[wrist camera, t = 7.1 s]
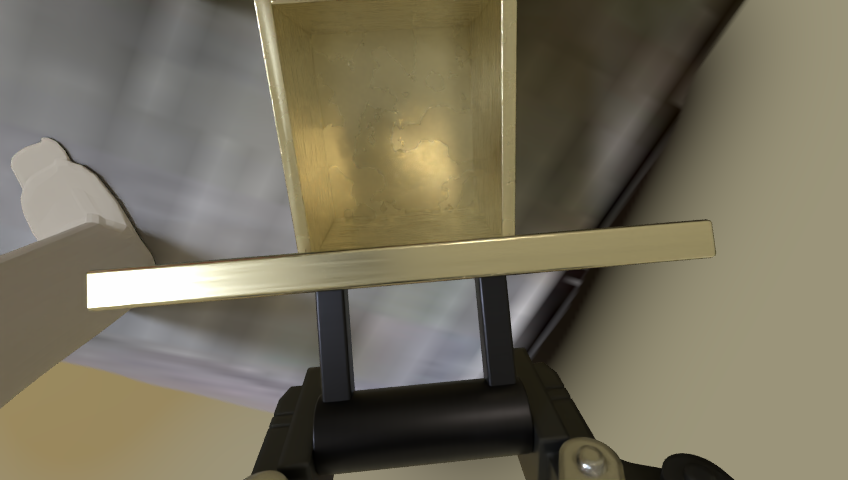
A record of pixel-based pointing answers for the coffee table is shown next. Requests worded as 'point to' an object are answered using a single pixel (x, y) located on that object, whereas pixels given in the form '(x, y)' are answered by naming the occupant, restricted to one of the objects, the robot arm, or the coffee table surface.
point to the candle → (58, 264)
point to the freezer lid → (396, 265)
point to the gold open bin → (394, 118)
